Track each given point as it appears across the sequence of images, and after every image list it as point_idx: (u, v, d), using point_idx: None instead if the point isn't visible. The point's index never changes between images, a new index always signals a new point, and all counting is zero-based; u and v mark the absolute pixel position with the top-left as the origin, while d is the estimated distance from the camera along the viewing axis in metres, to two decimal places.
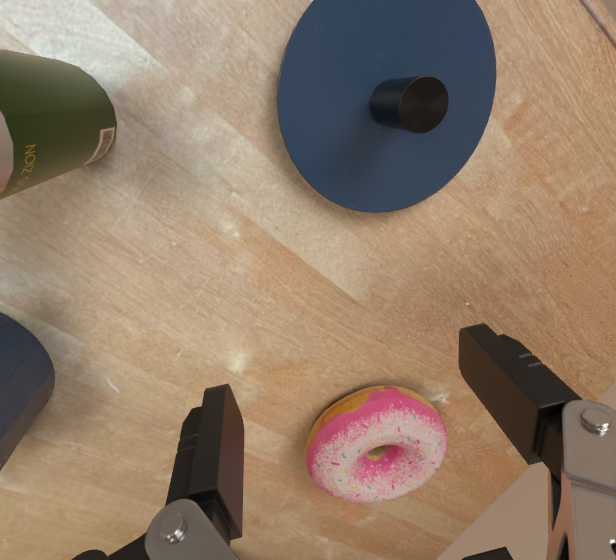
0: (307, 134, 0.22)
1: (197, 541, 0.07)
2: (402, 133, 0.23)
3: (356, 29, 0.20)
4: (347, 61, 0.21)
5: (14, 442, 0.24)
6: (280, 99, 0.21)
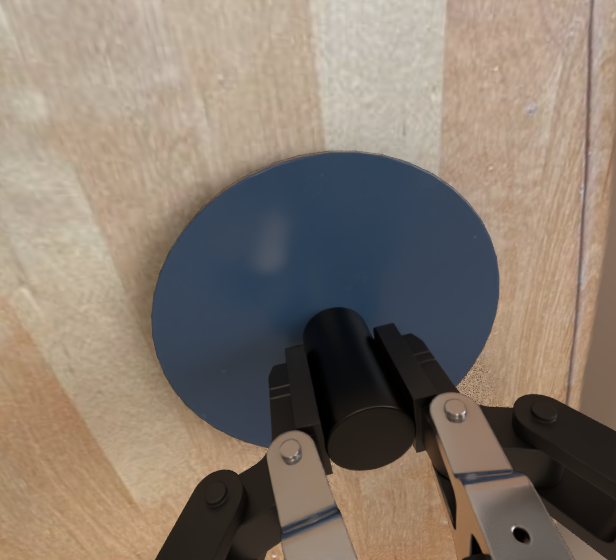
0: (198, 300, 0.13)
1: (316, 461, 0.08)
2: None
3: (356, 229, 0.12)
4: (318, 255, 0.13)
5: None
6: (188, 232, 0.12)
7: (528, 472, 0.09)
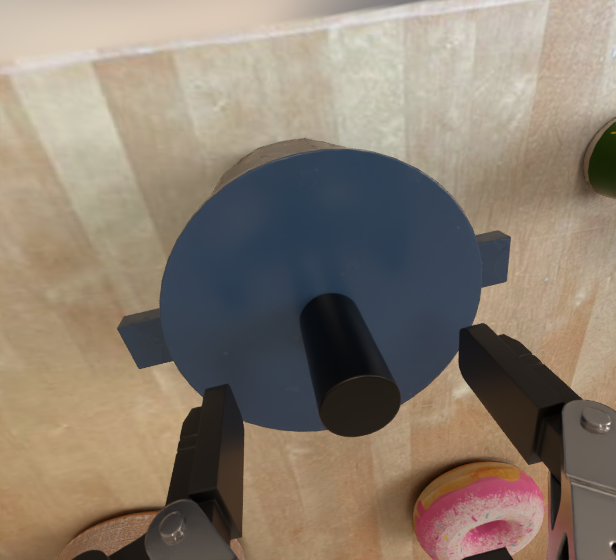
0: (202, 286, 0.14)
1: (197, 541, 0.07)
2: None
3: (348, 220, 0.13)
4: (313, 244, 0.14)
5: None
6: (194, 222, 0.13)
7: None
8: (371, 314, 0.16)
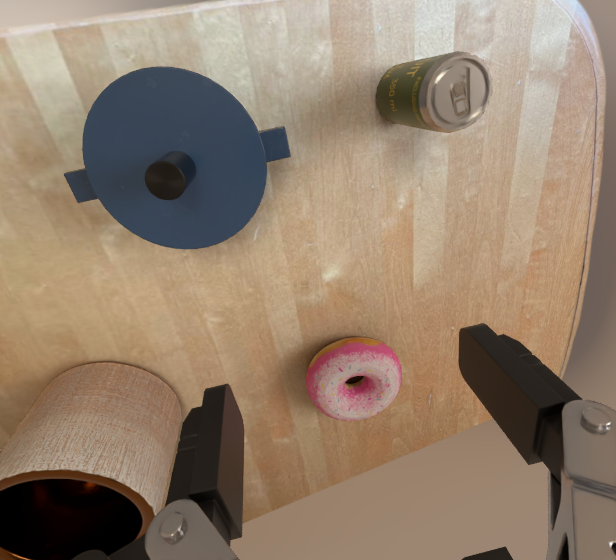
0: (104, 142, 0.27)
1: (197, 541, 0.07)
2: None
3: (177, 106, 0.26)
4: (161, 120, 0.26)
5: None
6: (96, 104, 0.25)
7: None
8: (202, 166, 0.28)
